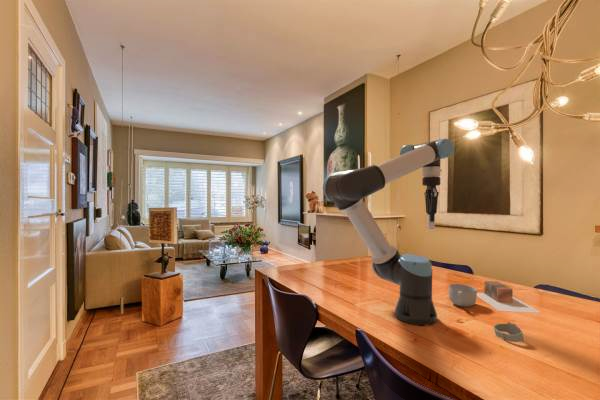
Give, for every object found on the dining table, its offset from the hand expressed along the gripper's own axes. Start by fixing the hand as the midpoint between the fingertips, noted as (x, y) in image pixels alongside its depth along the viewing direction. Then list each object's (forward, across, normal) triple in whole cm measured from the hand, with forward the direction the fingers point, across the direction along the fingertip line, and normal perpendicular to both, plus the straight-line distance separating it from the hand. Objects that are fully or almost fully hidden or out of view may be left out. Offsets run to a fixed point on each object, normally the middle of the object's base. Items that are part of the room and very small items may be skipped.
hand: (431, 228), depth 137 cm
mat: (+32, 0, -31) cm, 45 cm away
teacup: (+33, -6, -11) cm, 35 cm away
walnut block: (+29, -1, -31) cm, 42 cm away
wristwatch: (+33, -36, -14) cm, 50 cm away
